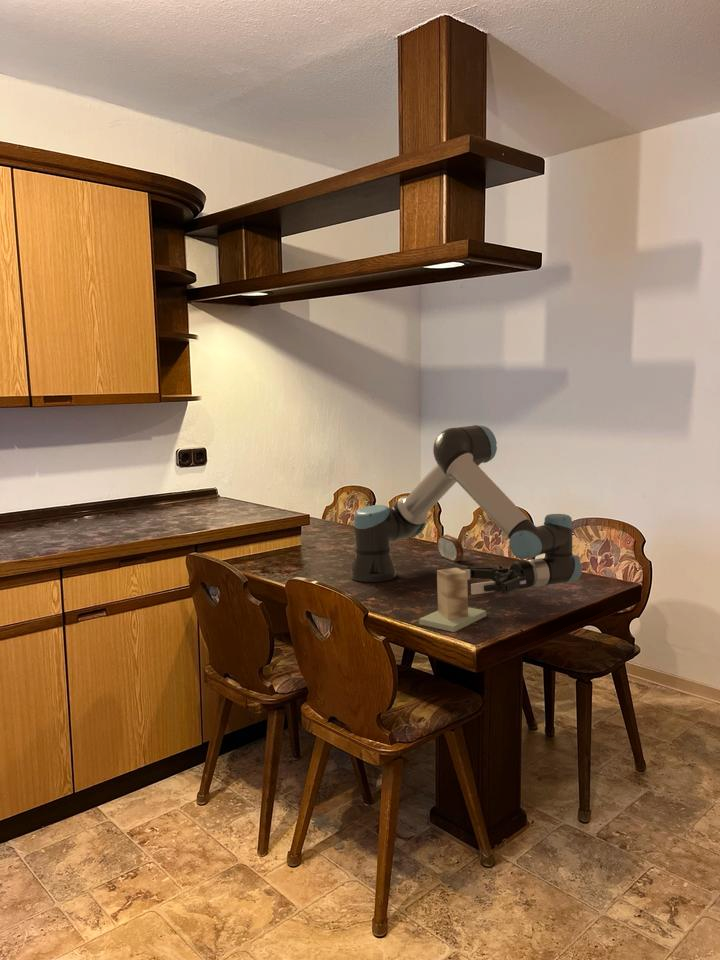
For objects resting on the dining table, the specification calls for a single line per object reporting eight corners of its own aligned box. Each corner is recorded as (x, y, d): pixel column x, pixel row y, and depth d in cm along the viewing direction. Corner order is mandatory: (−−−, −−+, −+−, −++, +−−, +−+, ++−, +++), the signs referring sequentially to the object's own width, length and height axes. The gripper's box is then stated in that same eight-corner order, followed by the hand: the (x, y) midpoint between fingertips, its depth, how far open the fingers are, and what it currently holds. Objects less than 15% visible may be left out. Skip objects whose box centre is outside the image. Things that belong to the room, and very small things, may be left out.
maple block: (457, 610, 201) (456, 567, 200) (468, 616, 196) (467, 572, 194) (437, 613, 199) (436, 570, 198) (447, 619, 194) (446, 575, 192)
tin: (464, 563, 259) (463, 540, 258) (456, 564, 258) (456, 541, 257) (444, 554, 273) (443, 532, 272) (436, 555, 272) (436, 533, 271)
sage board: (452, 609, 207) (452, 604, 207) (486, 616, 200) (486, 610, 200) (419, 624, 195) (418, 618, 195) (453, 632, 188) (453, 626, 188)
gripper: (554, 598, 192) (482, 609, 185) (505, 576, 215) (440, 585, 209) (554, 570, 191) (481, 580, 184) (505, 551, 214) (439, 559, 208)
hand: (459, 582), depth 196 cm, fingers open, 13 cm apart
